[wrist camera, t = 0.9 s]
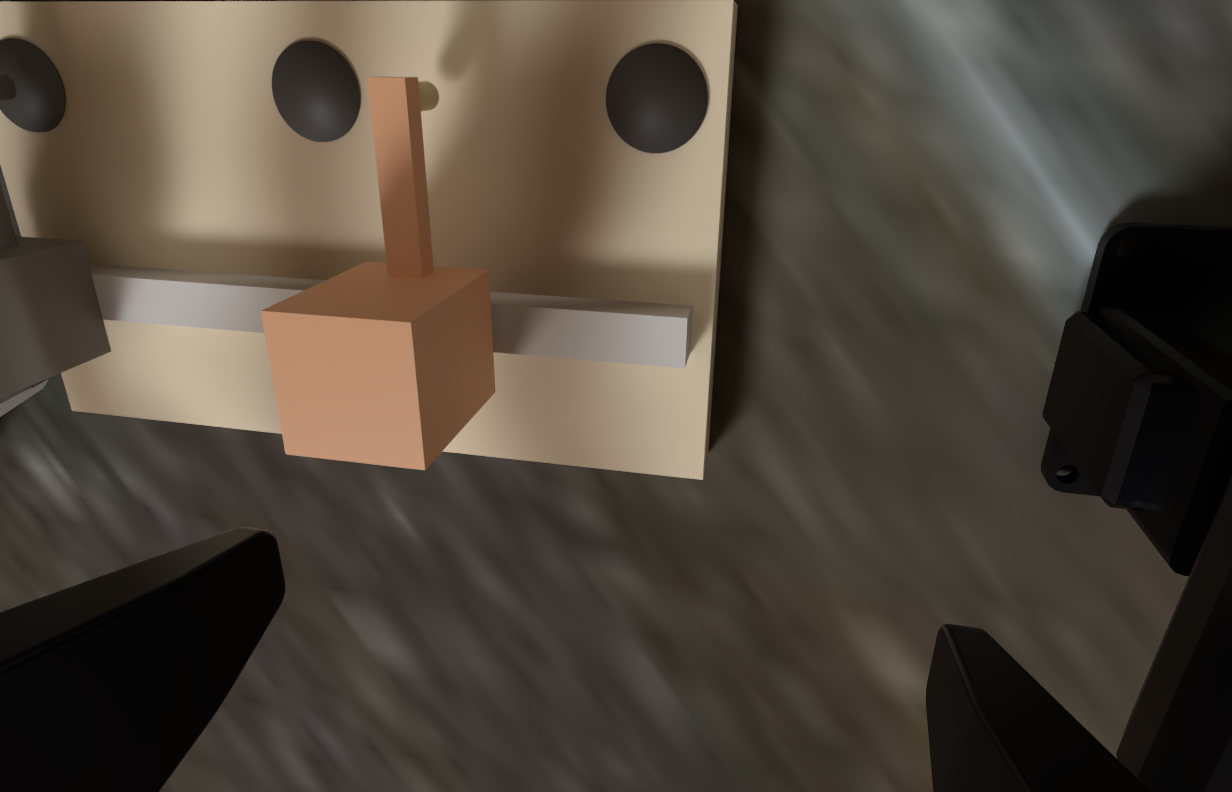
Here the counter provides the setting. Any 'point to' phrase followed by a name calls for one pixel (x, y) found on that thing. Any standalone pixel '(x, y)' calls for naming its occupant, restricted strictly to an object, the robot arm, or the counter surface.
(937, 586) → the counter surface
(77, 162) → the hole plate
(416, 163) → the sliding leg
